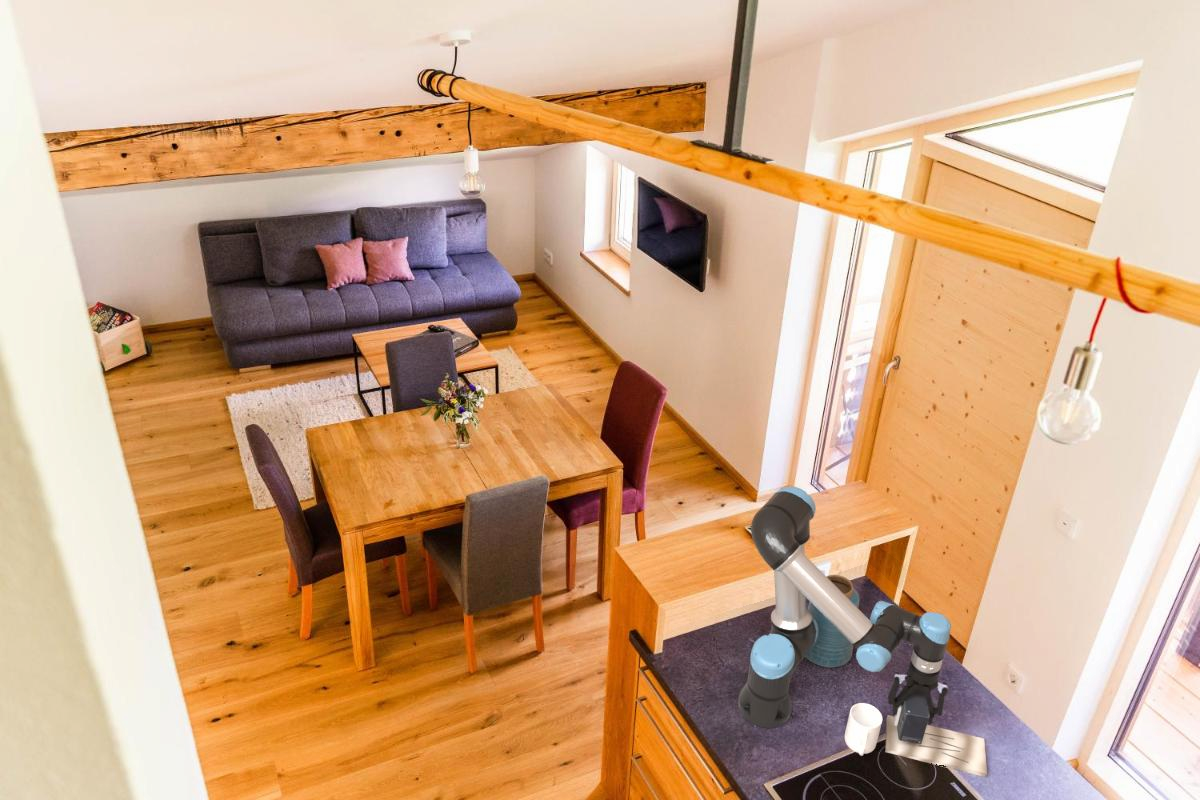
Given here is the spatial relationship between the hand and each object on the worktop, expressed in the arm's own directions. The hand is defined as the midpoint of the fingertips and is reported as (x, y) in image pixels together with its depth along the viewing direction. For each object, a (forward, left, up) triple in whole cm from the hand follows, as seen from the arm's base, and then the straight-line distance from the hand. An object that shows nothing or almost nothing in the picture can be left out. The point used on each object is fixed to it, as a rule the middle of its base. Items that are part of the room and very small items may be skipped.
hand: (909, 725), depth 244 cm
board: (+8, 0, -6) cm, 10 cm away
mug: (-12, -6, -6) cm, 15 cm away
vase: (-24, +28, -6) cm, 38 cm away
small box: (0, 0, -1) cm, 1 cm away
